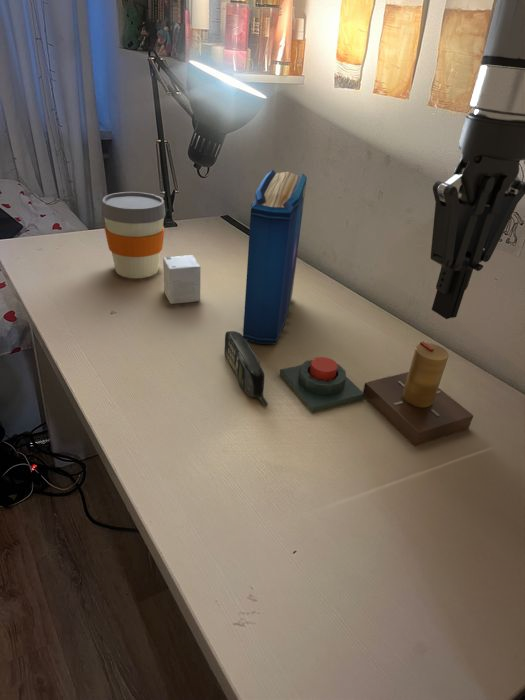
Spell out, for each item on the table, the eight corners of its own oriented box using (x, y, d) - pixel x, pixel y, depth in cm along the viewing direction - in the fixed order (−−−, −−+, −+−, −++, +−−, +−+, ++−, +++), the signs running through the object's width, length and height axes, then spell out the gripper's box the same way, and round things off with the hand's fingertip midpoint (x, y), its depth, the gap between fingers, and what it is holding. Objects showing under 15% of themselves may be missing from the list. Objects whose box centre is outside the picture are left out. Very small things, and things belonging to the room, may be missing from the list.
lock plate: (412, 382, 81) (416, 368, 79) (468, 429, 72) (474, 414, 70) (361, 395, 77) (365, 381, 75) (414, 446, 68) (419, 431, 66)
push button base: (327, 365, 83) (330, 349, 81) (363, 400, 76) (367, 384, 74) (279, 375, 79) (281, 359, 78) (311, 413, 72) (314, 396, 70)
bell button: (326, 364, 78) (328, 354, 77) (340, 378, 75) (342, 368, 75) (304, 369, 77) (306, 359, 76) (318, 383, 74) (320, 373, 73)
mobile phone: (222, 329, 81) (254, 380, 69) (239, 327, 82) (275, 377, 70) (221, 355, 83) (252, 409, 71) (238, 353, 84) (272, 406, 72)
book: (278, 352, 85) (295, 204, 72) (237, 346, 86) (246, 198, 73) (292, 298, 103) (307, 172, 90) (258, 293, 104) (268, 167, 91)
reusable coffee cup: (96, 265, 109) (89, 195, 101) (147, 254, 117) (144, 188, 109) (125, 286, 102) (120, 213, 94) (178, 273, 109) (177, 204, 101)
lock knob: (439, 403, 72) (456, 354, 68) (416, 410, 70) (432, 360, 66) (418, 386, 75) (433, 338, 71) (396, 392, 74) (409, 344, 69)
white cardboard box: (200, 301, 99) (201, 266, 95) (169, 304, 97) (169, 268, 93) (192, 288, 103) (193, 254, 100) (163, 291, 101) (162, 256, 97)
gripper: (518, 111, 59) (459, 294, 71) (432, 108, 53) (385, 307, 66) (576, 122, 53) (502, 319, 66) (487, 120, 48) (424, 335, 60)
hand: (443, 313), depth 66 cm, fingers closed
